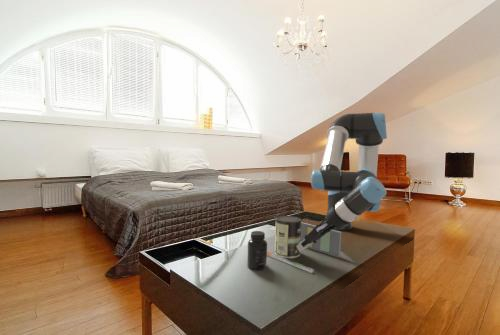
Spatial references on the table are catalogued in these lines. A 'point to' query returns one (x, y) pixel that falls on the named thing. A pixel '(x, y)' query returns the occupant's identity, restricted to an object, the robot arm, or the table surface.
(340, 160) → the robot arm
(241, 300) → the table surface
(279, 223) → the coffee can
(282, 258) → the front rail
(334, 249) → the panel board
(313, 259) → the table surface
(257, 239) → the supplement bottle
